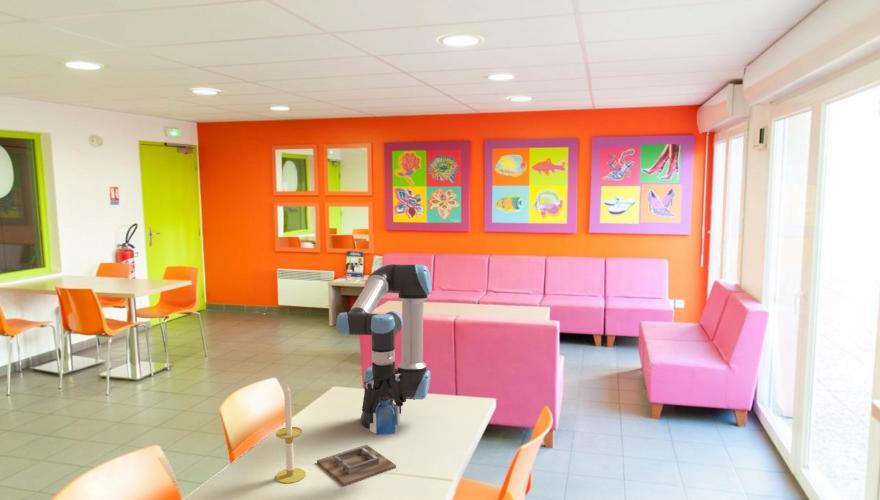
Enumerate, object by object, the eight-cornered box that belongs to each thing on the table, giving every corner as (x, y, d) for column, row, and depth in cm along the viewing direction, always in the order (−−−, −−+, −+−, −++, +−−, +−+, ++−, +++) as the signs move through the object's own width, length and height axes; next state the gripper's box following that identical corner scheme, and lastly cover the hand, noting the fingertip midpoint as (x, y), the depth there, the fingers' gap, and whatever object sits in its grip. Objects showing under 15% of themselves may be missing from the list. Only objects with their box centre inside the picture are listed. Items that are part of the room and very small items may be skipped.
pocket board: (316, 462, 206) (316, 454, 206) (366, 447, 218) (366, 439, 218) (344, 486, 190) (343, 477, 190) (396, 467, 202) (395, 459, 202)
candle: (277, 486, 191) (273, 389, 187) (273, 472, 200) (269, 379, 196) (308, 479, 195) (305, 385, 191) (302, 466, 204) (299, 375, 200)
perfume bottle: (375, 426, 198) (375, 392, 196) (394, 425, 199) (393, 391, 197) (375, 434, 192) (375, 399, 190) (395, 433, 192) (394, 398, 191)
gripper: (361, 371, 183) (363, 440, 186) (416, 357, 196) (417, 422, 199) (349, 365, 188) (351, 432, 191) (403, 352, 202) (404, 415, 205)
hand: (385, 427), depth 195 cm, fingers closed on perfume bottle, 8 cm apart
